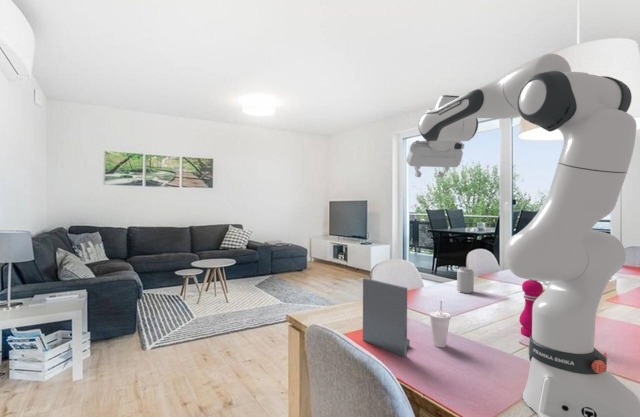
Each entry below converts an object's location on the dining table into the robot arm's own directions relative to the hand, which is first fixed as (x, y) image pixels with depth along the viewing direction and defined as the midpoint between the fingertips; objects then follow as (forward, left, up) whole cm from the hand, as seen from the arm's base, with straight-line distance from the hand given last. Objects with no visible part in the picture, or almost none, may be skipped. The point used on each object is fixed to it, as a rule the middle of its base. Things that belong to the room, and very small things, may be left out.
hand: (429, 176), depth 127 cm
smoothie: (-15, +18, -54) cm, 59 cm away
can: (+9, -48, -55) cm, 73 cm away
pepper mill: (-31, -13, -54) cm, 64 cm away
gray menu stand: (-5, +29, -54) cm, 62 cm away
